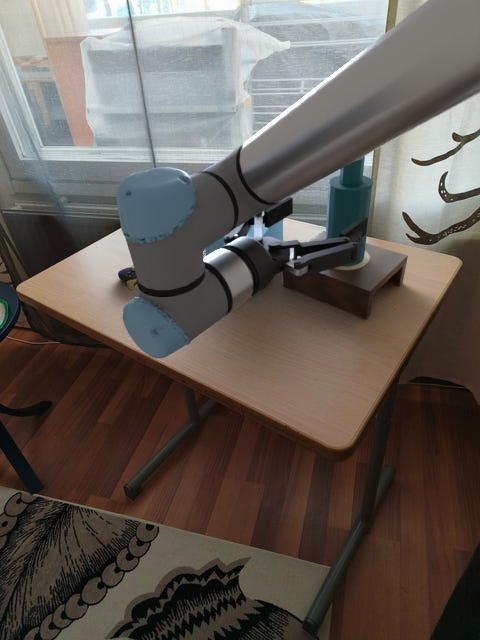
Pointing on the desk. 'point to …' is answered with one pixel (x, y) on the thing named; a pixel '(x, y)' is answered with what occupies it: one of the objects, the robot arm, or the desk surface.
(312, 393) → the desk surface
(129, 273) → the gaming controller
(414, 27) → the robot arm
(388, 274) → the dark brown wooden block
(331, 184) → the bottle
